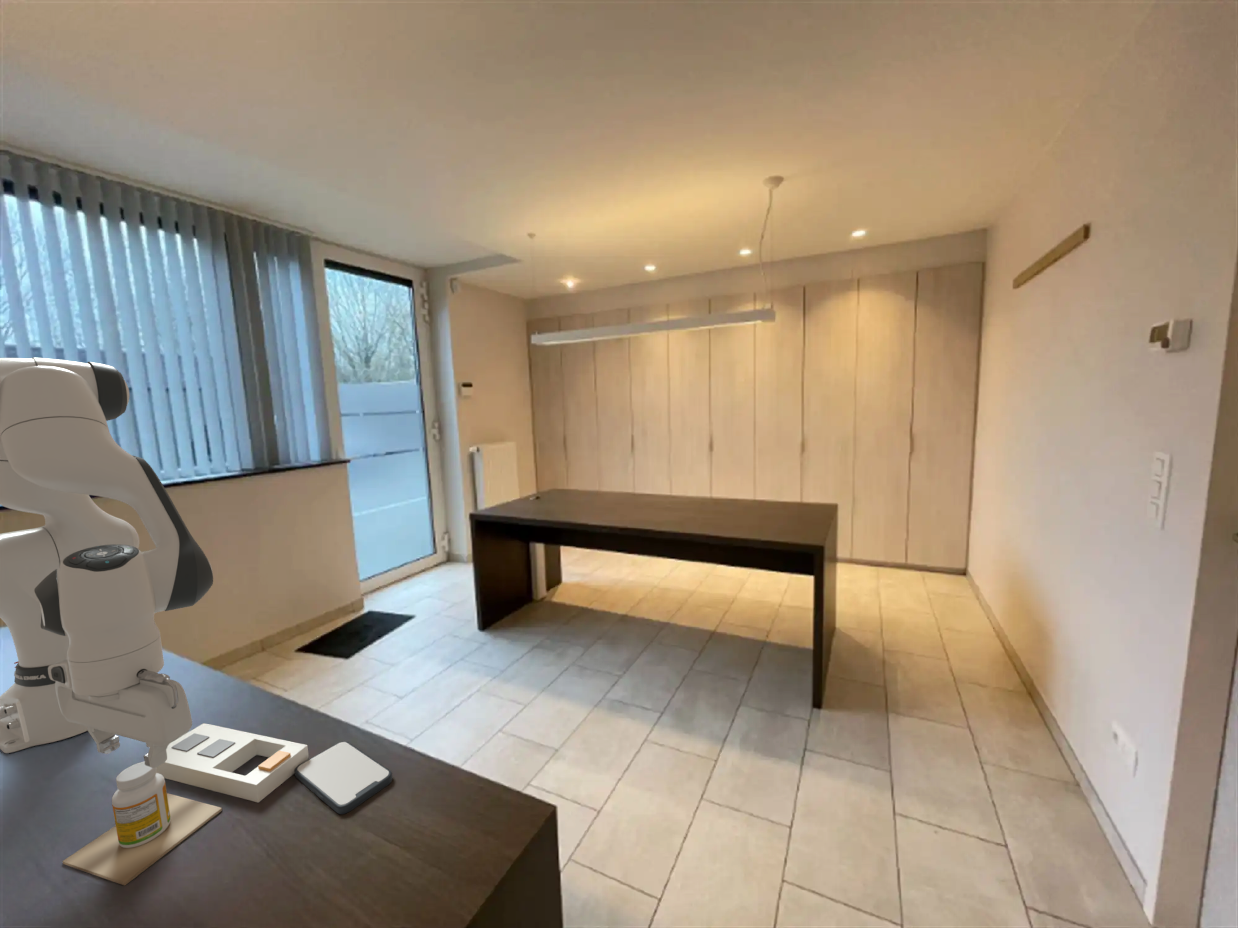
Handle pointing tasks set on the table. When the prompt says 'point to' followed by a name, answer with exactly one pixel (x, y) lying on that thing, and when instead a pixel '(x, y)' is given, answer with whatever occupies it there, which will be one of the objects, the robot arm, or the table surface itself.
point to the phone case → (343, 776)
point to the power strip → (231, 761)
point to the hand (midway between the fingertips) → (132, 757)
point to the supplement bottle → (140, 805)
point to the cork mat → (130, 862)
